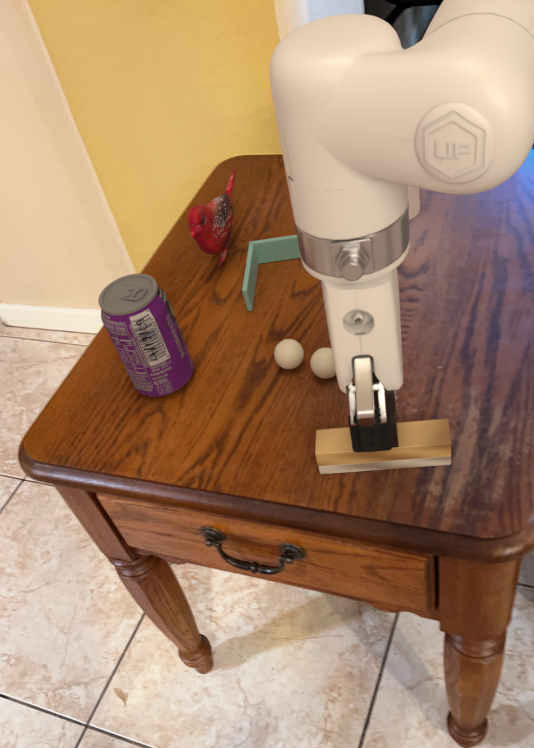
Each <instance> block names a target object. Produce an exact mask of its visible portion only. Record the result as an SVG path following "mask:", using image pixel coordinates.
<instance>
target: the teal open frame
mask: <svg viewBox="0 0 534 748" xmlns="http://www.w3.org/2000/svg"><path fill="white" fill-rule="evenodd" d="M295 259H301V256H300V250H299V244H298V238H297V234H292V235H284V236H279V237H278V236H277V237H271V238H264V239H258V240H251V241H249V242H248V249H247V255H246V263H245V269H244V276H243V282H242V288H241V292H242V295H243V299H244V302H245V307H246V309H247V311H248V312H252V311H253V309H254V302H255V294H256V287H257V278H258V271H259V264H267V263H273V262H281V261H289V260H295Z"/></svg>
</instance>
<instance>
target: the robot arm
mask: <svg viewBox="0 0 534 748" xmlns="http://www.w3.org/2000/svg"><path fill="white" fill-rule="evenodd" d="M268 69H269V70H268V76H269V77H268V78H269V86H270V91H271V92H270V93H271V99H272V104H273V109H274V115H275V120H276V126H277V133H278V137H279V143H280V149H281V154H282V160H283V165H284V172H285V176H286V183H287V188H288V194H289V199H290V200H289V201H290V206H291V211H292V216H293V220H294V226H295V232H296V235H297V238H298V244H299V250H300V256H301V258H300V261H301V265H302V267H303V268H304V269H305V271H306V272H307V274H309V275H310V276H312V277H313V278H315V279H316V280H319V281H320V284H321V290H322V296H323V297H322V298H323V306H324V312H325V318H326V324H327V330H328V337H329V342H330V348H331V349H332V355H333V360H334V366H335V371H336V375H335V376H336V381H337V385H338V388H339V390H340V391H341V392H342V393H344V394H346V395H347V396H348V406H349V415H348V417H347V421H348V427H349V428H350V435H351V441H352V448H353V451H354V452H357V453H359V452H376V451H388V450H391V449H392V435H391V422H390V412H388V413H387V412H386V400H385V389H386V390H387V391H391V390H394V391H398V390H400V389H401V388H402V386H403V384H404V367H403V366H404V363H403V362H404V361H403V346H402V345H403V344H402V343H403V342H402V341H403V340H402V322H401V301H400V286H399V285H400V284H399V274H398V267H399V266H400V265H401V264H402V263H403V262H404V261H405V260H406V259H407V256H408V255H409V253H410V248H411V239H410V238H411V233H410V232H411V231H410V220H409V202H408V185H410V186H414V187H417V188H419V189H422V190H425V191H431V192H434V193H440V194H448V195H473V194H481V193H484V192H487V191H491V190H492V189H495V188H497V187H499V186H501V185H502V184H503V183H505V182H507V181H508V180H509V179H510V178H512V177H513V176H514V175H515V174H516V173H517V172H518V171H519V169H520V168H521V167H522V166H523V164H524V163H525V161H526V159H527V158H528V156H529V154H530V152H531V150H532V148H533V146H534V0H443V1H442V2H441V3H440V5H439V7H438V9H437V11H436V12H435V13H434V16H433V18H432V19H431V21H430V23H429V25H428V26H427V29H426V31H425V33H424V35H423V36H422V39H421V40H419V41H418V42H417V43H415V44H414V45H412V46H410V47H407V48H406V49H404V48H403V47H402V43H401V39H400V37H399V35H398V33H397V31H396V30H395V29H394V27H393V26H392V25H391V24H390V23H389V22H387V21H386V20H384V19H383V18H380V17H378V16H375V15H372V14H365V13H342V14H336V15H335V14H334V15H329V16H325V17H321V18H318V19H314V20H311V21H309V22H307V23H305V24H303V25H300V26H298V27H296V28H295V29H293V30H291V31H290V32H288V33H287V34H285V36H283V38H282V39H281V40H280V41H279V42H278V43H277V45H276V46H275V47H274V50H273V51H272V55H271V57H270V60H269V67H268ZM374 372H375V375H376V377H377V378H378V380H379V382H373V378H372V373H374ZM373 391H378V401H379V408H377V409H375V407H374V396H373Z"/></svg>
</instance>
